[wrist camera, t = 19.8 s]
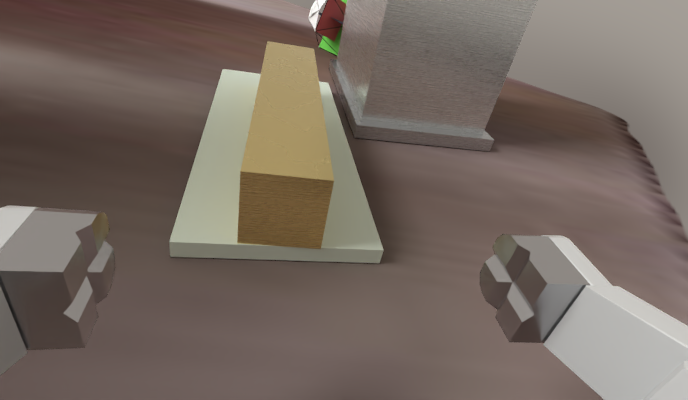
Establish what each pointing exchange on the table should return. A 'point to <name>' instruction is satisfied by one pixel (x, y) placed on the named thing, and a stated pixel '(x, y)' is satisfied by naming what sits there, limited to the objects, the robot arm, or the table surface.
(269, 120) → the brass bar
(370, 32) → the rack post
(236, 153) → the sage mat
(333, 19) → the geometric puzzle
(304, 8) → the table surface
